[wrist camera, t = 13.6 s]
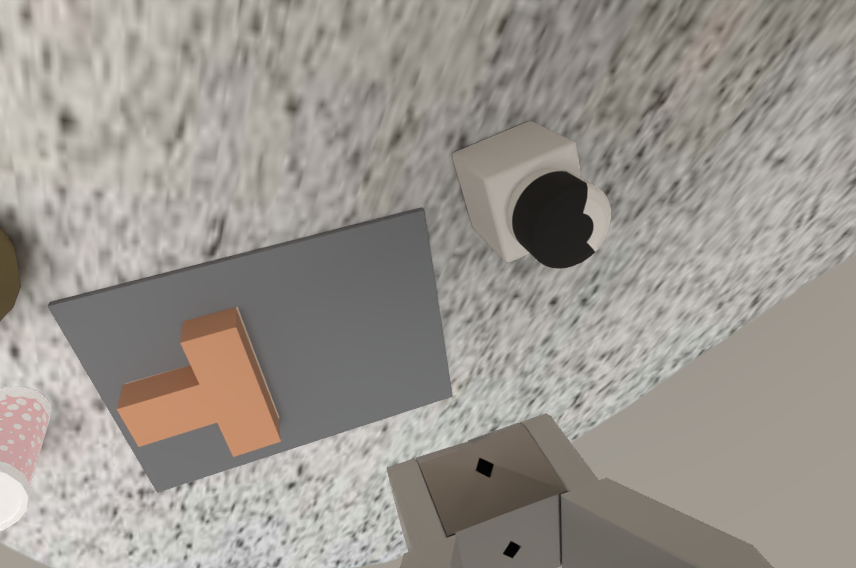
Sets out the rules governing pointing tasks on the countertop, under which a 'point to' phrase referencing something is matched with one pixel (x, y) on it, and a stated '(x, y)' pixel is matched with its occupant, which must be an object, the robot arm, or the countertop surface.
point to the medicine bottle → (532, 196)
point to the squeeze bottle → (8, 275)
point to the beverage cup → (19, 447)
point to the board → (279, 336)
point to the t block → (205, 390)
